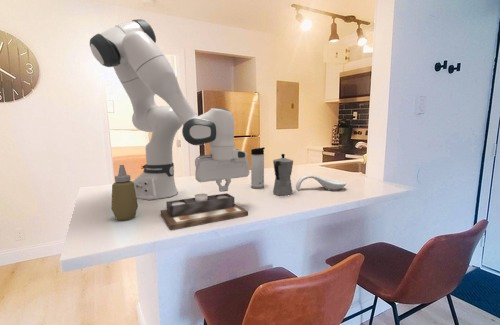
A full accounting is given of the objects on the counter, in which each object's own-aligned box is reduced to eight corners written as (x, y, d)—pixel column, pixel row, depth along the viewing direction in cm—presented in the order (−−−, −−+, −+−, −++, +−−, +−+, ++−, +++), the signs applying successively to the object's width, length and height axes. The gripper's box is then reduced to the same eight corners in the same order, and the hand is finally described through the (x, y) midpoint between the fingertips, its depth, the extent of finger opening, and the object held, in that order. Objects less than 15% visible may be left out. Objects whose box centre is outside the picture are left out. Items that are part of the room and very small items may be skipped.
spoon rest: (339, 186, 134) (339, 172, 133) (350, 191, 123) (350, 176, 122) (293, 187, 132) (293, 173, 131) (300, 193, 121) (300, 178, 120)
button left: (173, 215, 87) (173, 206, 86) (170, 211, 91) (170, 203, 90) (186, 213, 89) (186, 204, 88) (183, 209, 93) (183, 201, 92)
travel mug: (263, 189, 128) (263, 148, 125) (250, 188, 129) (249, 147, 127) (265, 186, 134) (265, 146, 131) (252, 185, 135) (252, 146, 133)
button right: (219, 207, 94) (219, 199, 94) (214, 204, 98) (214, 196, 98) (230, 205, 96) (230, 197, 96) (225, 202, 100) (225, 195, 100)
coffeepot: (278, 189, 128) (278, 152, 125) (297, 191, 124) (297, 152, 121) (265, 197, 114) (265, 155, 112) (286, 199, 110) (286, 156, 108)
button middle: (197, 206, 90) (196, 197, 90) (193, 202, 94) (193, 194, 94) (209, 204, 92) (209, 195, 92) (205, 201, 96) (205, 193, 96)
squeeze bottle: (111, 223, 84) (106, 167, 82) (113, 215, 92) (108, 164, 89) (138, 219, 88) (135, 165, 85) (138, 212, 95) (135, 162, 92)
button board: (170, 230, 78) (169, 213, 78) (160, 214, 92) (159, 200, 92) (248, 215, 91) (247, 201, 90) (228, 203, 105) (228, 191, 104)
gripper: (197, 156, 88) (199, 197, 90) (251, 152, 98) (251, 189, 100) (191, 154, 93) (193, 193, 95) (243, 151, 103) (243, 186, 105)
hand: (223, 191), depth 97 cm, fingers closed
